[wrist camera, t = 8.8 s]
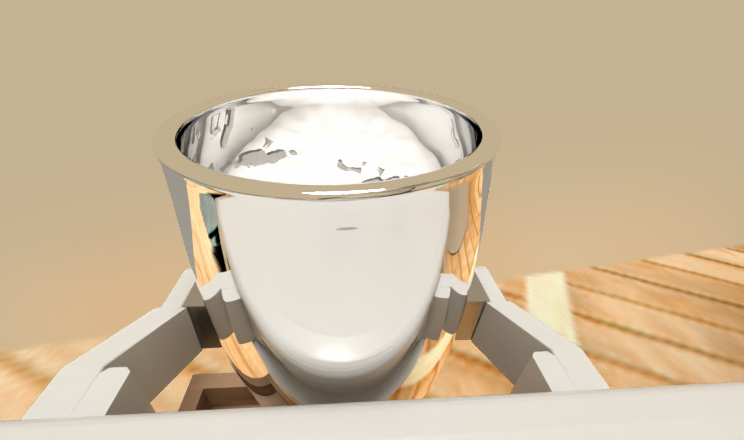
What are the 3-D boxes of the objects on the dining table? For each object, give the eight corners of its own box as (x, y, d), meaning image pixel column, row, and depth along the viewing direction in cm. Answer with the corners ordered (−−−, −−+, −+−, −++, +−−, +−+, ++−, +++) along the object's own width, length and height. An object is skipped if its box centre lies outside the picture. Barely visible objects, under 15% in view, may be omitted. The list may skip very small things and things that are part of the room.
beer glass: (288, 364, 18) (220, 79, 9) (409, 359, 18) (453, 82, 9) (258, 537, 12) (-3, 206, 3) (436, 523, 12) (612, 199, 4)
